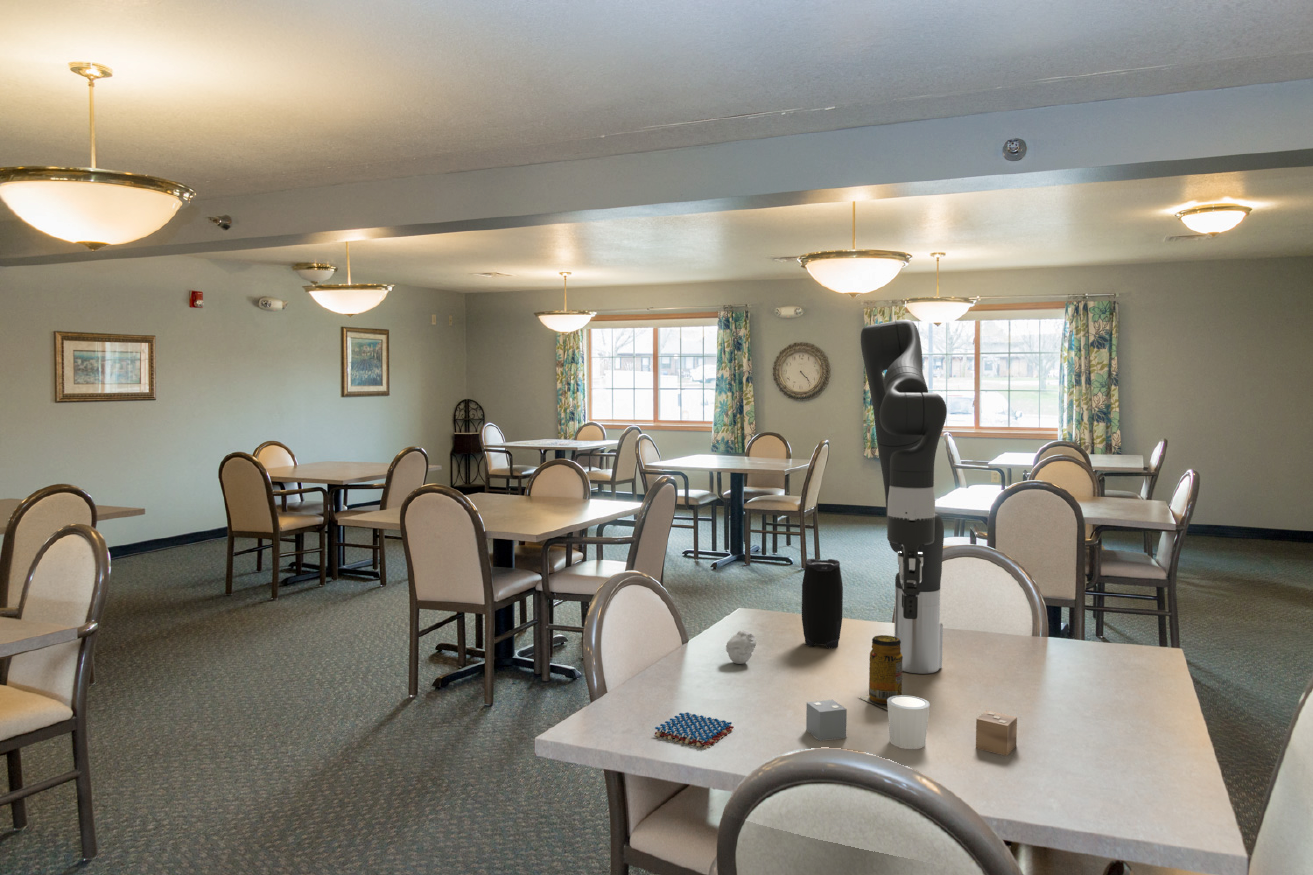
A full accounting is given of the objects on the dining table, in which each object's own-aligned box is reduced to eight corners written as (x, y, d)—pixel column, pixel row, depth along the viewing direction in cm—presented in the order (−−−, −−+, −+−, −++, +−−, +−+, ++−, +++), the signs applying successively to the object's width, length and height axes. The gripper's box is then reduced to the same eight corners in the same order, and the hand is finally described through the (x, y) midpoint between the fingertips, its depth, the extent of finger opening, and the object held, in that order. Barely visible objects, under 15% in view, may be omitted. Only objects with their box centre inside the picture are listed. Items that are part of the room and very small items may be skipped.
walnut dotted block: (985, 739, 152) (986, 709, 152) (1016, 746, 149) (1017, 716, 149) (975, 748, 148) (976, 718, 148) (1006, 756, 145) (1007, 725, 145)
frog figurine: (762, 664, 194) (762, 632, 193) (737, 669, 190) (737, 636, 190) (744, 657, 199) (744, 626, 198) (719, 662, 195) (719, 630, 195)
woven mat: (707, 752, 147) (707, 740, 147) (652, 739, 153) (652, 727, 153) (736, 732, 156) (736, 720, 156) (683, 720, 162) (683, 709, 161)
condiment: (887, 692, 176) (888, 631, 175) (918, 706, 168) (919, 642, 167) (857, 698, 172) (858, 636, 172) (887, 712, 165) (888, 647, 164)
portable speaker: (794, 641, 211) (795, 559, 210) (828, 637, 215) (829, 556, 214) (814, 651, 203) (815, 565, 203) (849, 647, 207) (850, 562, 206)
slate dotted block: (832, 727, 157) (832, 698, 157) (846, 738, 152) (846, 708, 152) (806, 730, 156) (806, 701, 155) (819, 741, 151) (819, 711, 151)
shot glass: (880, 735, 153) (881, 694, 153) (919, 734, 154) (920, 693, 154) (894, 751, 147) (895, 708, 146) (935, 749, 147) (936, 707, 147)
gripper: (886, 507, 156) (885, 602, 157) (888, 518, 142) (886, 622, 143) (931, 509, 155) (930, 605, 155) (937, 520, 141) (936, 625, 141)
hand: (909, 613), depth 149 cm, fingers open, 6 cm apart
